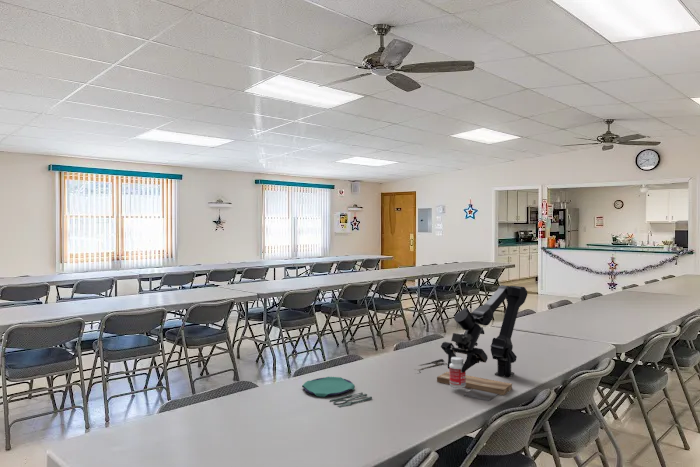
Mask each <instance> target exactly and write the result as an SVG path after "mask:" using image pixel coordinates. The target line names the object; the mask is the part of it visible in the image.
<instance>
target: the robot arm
mask: <svg viewBox="0 0 700 467" xmlns="http://www.w3.org/2000/svg"><path fill="white" fill-rule="evenodd" d="M527 296H528V290H527V288H526V287H525V286H521V285H518V286H517V285H503V284H501V285H499V286H498V287H497V290H495V292H494V293H493V294H492V295H491V296H490V298H488V299H487V301H485V303H484V304H483V305H481V306H477V307H476V308H475V309H474V310H472V312H470V310H469V309H468V308H465V307H464V308H463V309H462V310H459V311H458V312H457V313H455V315H454V321H455V322H456V323H457V324H458V326H459V327H461V329H462V330H464V333H461V334H460V333H455V332H453V333H452V335H451V340H450V341H451V342H448V341H443V342H442V343H441V345H440V348H441V349H442V350H443V352H444V353H445V354H446V355H447V357H448V359H447V369H448V370H449V365H450V364H451V363H452V362H451V357H458V356H457V353H458V354H462V355H466V359H465V361H464V362H463V363H464V365H463V367H462V370H461V371H462V372H465V373H466V371H467V370H469V369H470V368H471V367H473V366H474V365H477V364H479V363H480V362H481V363H487V361H488V360H489V359H488V355H487V353H486V352H485V350H484V349H482V348H479V347H478V344H479V343H478V341H479V338H480V335H485V330H484V327H482V326H488V325H490V323H491V322H492V320H493V319H494V313H495V311H497V310H498V309H499V307H500V306H501V304H503V302H504V301H505V300H506V303H507V304H506V309H505V313H504V316H503V320H502V323H501V326H500V330H499V334H498V336H497V337H493V338H492V339H491V345H490V346H489V347H490V353H491V357H492V360H497V361H496V363H497V364H496V365H497V371H496V372H495V373H494V375H495V376H499V377H504V378H511V377H513V375H515V371H514V372H513V371H512V364H514V363H515V362H516V361H517V355H516V353H515V351H513V349H514V346H513V343H512V340H511V339H512V336H513V333H514V329H515V325H516V320H517V317H518V314H519V310H520V308H521V306H522V305H524V304H525V302H526V300H527ZM452 342H453V343H455V345H454V344H453V343H452ZM475 346H476V347H475Z"/></svg>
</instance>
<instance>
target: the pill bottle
mask: <svg viewBox="0 0 700 467" xmlns="http://www.w3.org/2000/svg"><path fill="white" fill-rule="evenodd" d="M451 362H452V363H451V364H450V365H449V369H448V372H449V373H450V384H449V386H450V387H451V388H453V389H464V388H465V386H466V375H467V374H466V371H465V372H462V371H461V370H462V367H463V365H464V363H465V362H464V357H461V356H457V357H451Z"/></svg>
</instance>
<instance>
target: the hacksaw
mask: <svg viewBox="0 0 700 467" xmlns="http://www.w3.org/2000/svg"><path fill="white" fill-rule="evenodd" d="M444 361H445V360H444V359H443V358H439V359H437V360H433V361H431V362H426V363H422V364H419V365H418V366H421V367H422V366H425V367H422V368H420V369H418V372H419V373H414V374H415V375H416V374H421V373H422V372H421V371H423V370H425V369H431V368H434V367H437V366H442V365H444V366H446V365H448V362H444ZM431 364H432V365H431ZM426 365H430V366H426ZM414 370H415V371H416V370H417V369H416V368H414Z"/></svg>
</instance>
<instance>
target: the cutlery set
mask: <svg viewBox="0 0 700 467" xmlns="http://www.w3.org/2000/svg"><path fill="white" fill-rule="evenodd" d="M301 387H302V389H303V390H305V392H307V393H309V394H311V395H315V396H316V397H321V398H325V397H327V396H328V397H329V396H336V395H337V396H338V395H342V394H344V393H348V392H349V391H351V390H353V391H354V390H355V388H356V386H355V384H354V383H353V382H352V381H350V379H346V378H343V377H340V376H326V377H318V378H315V379H311V380H307V381H305V382H304V383H303V384H302V386H301ZM353 396H354V397H353ZM362 397H363V398H362ZM358 398H362V399H359V400H355V401H352V400H354V399H358ZM372 399H373V397H372V396H368V394H367V393H363V392H362V391H361V392H359V393H354V394H348V395H347V394H346V395H345V396H341V397H336V398H332V399H329V402H330V403H331V402H332V403H333V404H334V405H337V408H343V407H349V406H352V405H353V404H358V402H359V403H362V402H366V401H370V400H372ZM339 402H340V403H339Z"/></svg>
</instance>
